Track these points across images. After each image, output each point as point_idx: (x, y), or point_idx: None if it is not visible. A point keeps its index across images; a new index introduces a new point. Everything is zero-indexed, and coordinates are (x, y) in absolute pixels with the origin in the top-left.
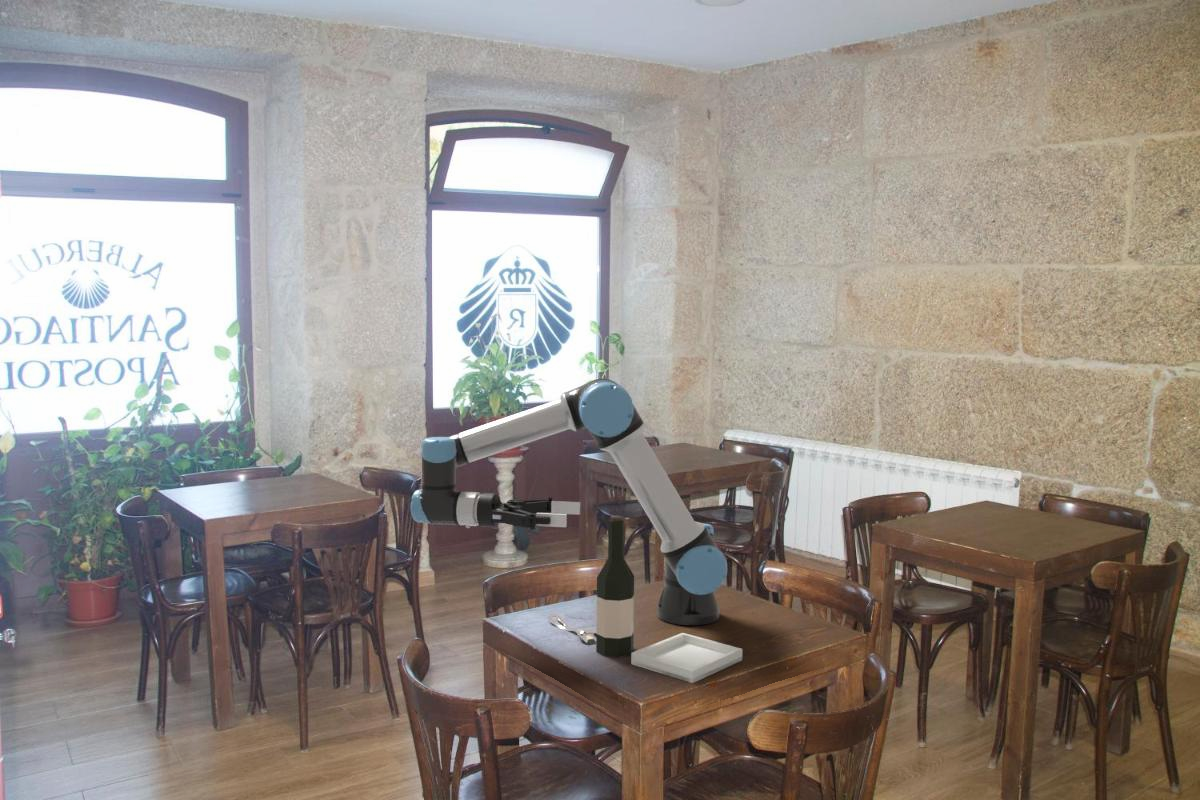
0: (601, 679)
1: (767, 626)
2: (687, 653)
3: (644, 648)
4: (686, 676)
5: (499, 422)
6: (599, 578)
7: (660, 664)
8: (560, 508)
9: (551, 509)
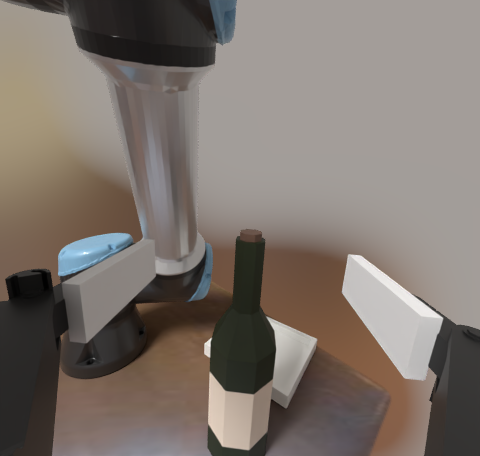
0: (362, 451)
1: None
2: None
3: None
4: (314, 349)
5: None
6: (262, 358)
7: (304, 366)
8: (114, 292)
9: (84, 325)
